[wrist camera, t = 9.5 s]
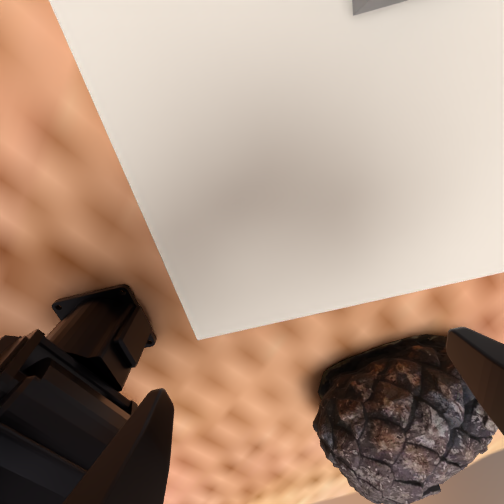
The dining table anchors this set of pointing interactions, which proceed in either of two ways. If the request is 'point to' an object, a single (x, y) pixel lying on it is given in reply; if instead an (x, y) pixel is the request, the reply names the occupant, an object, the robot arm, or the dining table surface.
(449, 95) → the stool seat
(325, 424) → the pine cone
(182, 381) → the dining table surface
